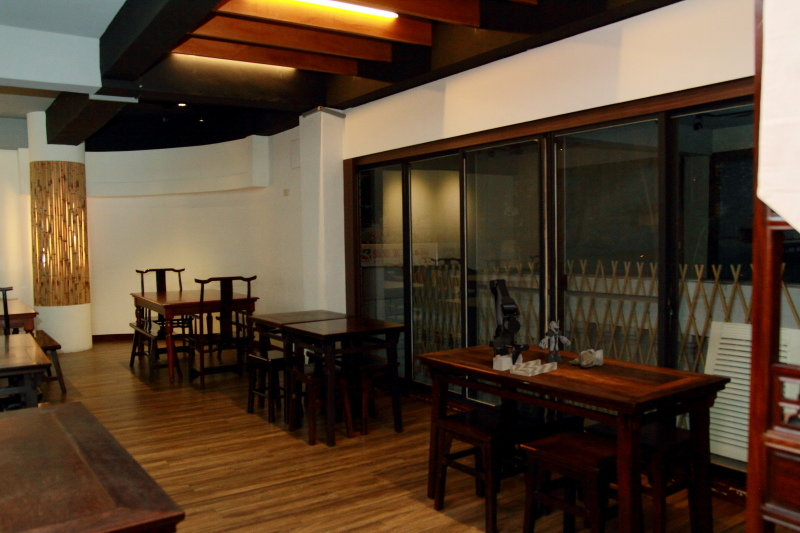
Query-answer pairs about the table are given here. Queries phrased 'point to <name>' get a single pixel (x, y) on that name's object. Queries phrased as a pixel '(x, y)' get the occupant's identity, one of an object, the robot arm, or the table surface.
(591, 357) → the ceramic sculpture
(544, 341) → the robot
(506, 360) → the white bar with tab
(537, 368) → the cradle
